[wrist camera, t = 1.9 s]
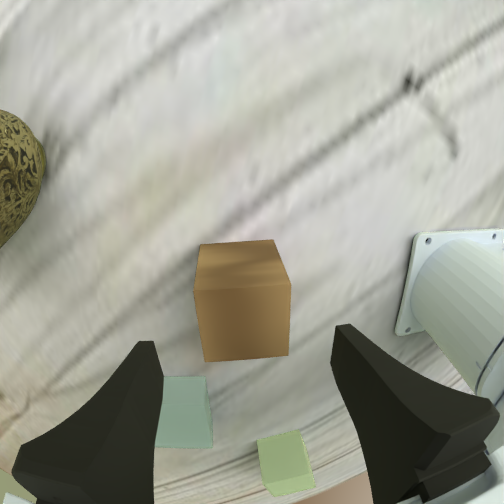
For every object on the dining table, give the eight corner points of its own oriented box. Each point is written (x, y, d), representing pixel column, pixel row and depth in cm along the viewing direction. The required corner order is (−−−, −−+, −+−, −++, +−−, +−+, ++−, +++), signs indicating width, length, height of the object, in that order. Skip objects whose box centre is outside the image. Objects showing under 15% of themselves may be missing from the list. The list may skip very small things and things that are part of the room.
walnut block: (273, 239, 17) (290, 283, 13) (273, 300, 19) (288, 355, 15) (200, 244, 17) (193, 290, 13) (207, 305, 19) (204, 362, 14)
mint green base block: (205, 373, 21) (204, 404, 19) (212, 420, 24) (212, 448, 21) (126, 372, 21) (118, 401, 18) (144, 418, 23) (139, 445, 21)
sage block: (298, 428, 25) (309, 473, 21) (305, 446, 27) (315, 487, 22) (256, 439, 25) (262, 484, 21) (267, 456, 27) (274, 497, 22)
